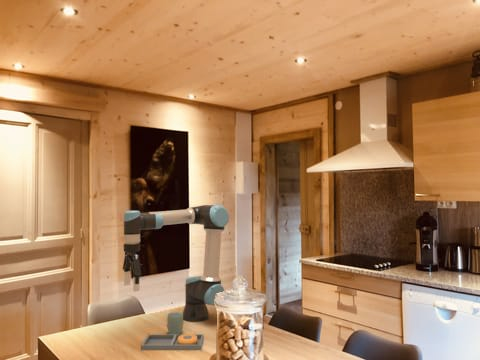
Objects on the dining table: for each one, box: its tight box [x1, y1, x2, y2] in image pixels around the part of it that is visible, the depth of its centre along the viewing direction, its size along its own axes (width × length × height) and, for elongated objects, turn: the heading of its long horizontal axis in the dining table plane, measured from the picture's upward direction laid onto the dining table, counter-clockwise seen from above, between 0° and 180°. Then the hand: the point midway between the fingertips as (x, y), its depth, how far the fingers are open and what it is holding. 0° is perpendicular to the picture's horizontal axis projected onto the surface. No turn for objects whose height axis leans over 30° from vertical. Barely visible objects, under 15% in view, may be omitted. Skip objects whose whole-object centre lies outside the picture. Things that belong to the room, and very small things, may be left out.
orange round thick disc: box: [178, 333, 197, 345], centre depth 181 cm, size 9×9×3 cm
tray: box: [140, 333, 205, 351], centre depth 181 cm, size 27×14×2 cm, turn 90°
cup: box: [166, 311, 184, 334], centre depth 196 cm, size 8×8×10 cm
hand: (131, 288), depth 184 cm, fingers open, 13 cm apart
